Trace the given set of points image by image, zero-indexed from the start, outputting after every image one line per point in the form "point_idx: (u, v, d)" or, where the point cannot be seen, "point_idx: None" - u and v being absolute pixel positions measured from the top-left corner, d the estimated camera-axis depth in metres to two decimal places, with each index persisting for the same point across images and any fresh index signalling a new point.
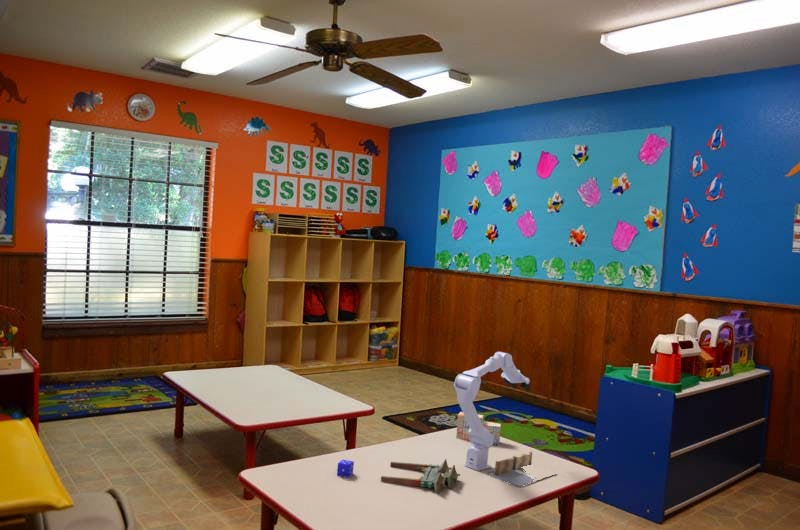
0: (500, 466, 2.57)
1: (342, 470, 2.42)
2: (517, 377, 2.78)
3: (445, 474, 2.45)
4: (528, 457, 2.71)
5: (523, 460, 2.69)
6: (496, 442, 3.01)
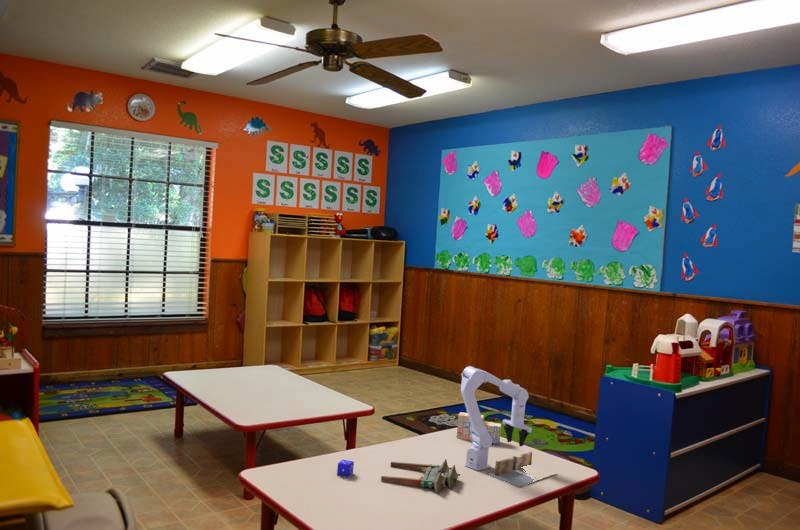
0: (500, 466, 2.57)
1: (342, 470, 2.42)
2: (521, 422, 2.71)
3: (445, 474, 2.45)
4: (528, 457, 2.71)
5: (523, 460, 2.69)
6: (497, 442, 3.01)
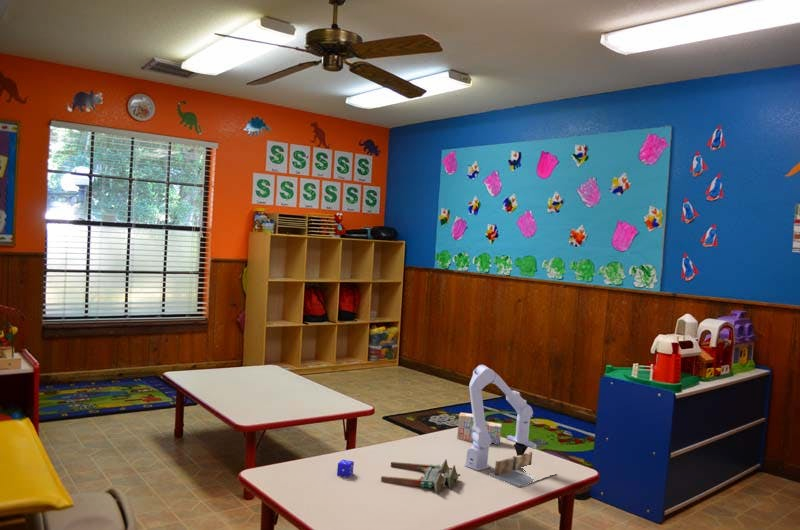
0: (500, 466, 2.57)
1: (342, 470, 2.42)
2: (526, 438, 2.68)
3: (445, 474, 2.45)
4: (528, 457, 2.71)
5: (523, 460, 2.69)
6: (497, 442, 3.01)
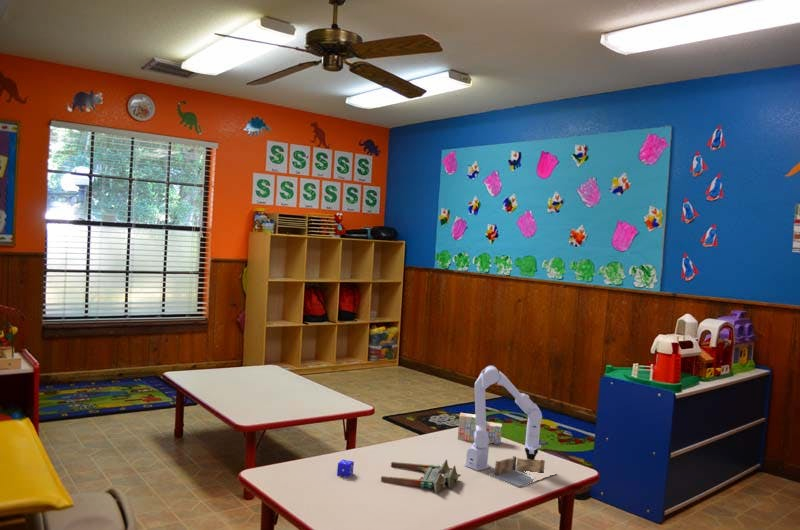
0: (500, 466, 2.57)
1: (342, 470, 2.42)
2: (530, 442, 2.63)
3: (445, 474, 2.45)
4: (537, 464, 2.63)
5: (529, 465, 2.64)
6: (498, 442, 3.01)
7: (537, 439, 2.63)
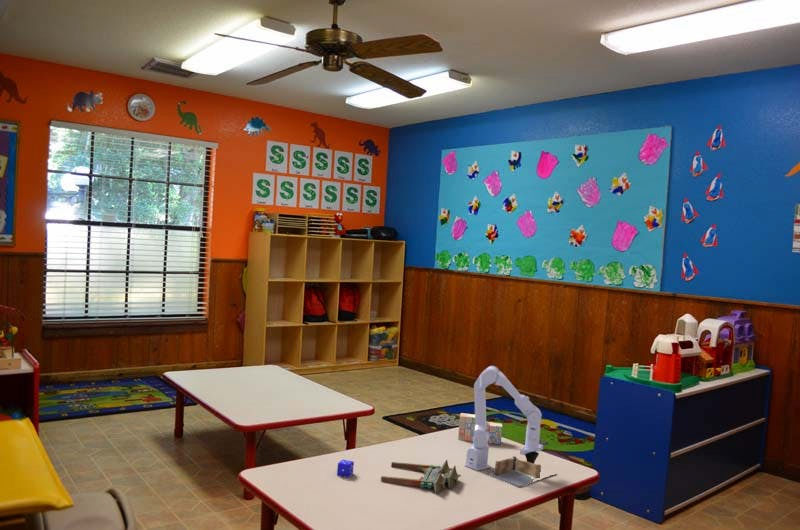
0: (500, 466, 2.57)
1: (342, 470, 2.42)
2: (527, 444, 2.60)
3: (445, 475, 2.45)
4: (534, 468, 2.58)
5: (526, 467, 2.60)
6: (499, 442, 3.01)
7: (534, 442, 2.58)
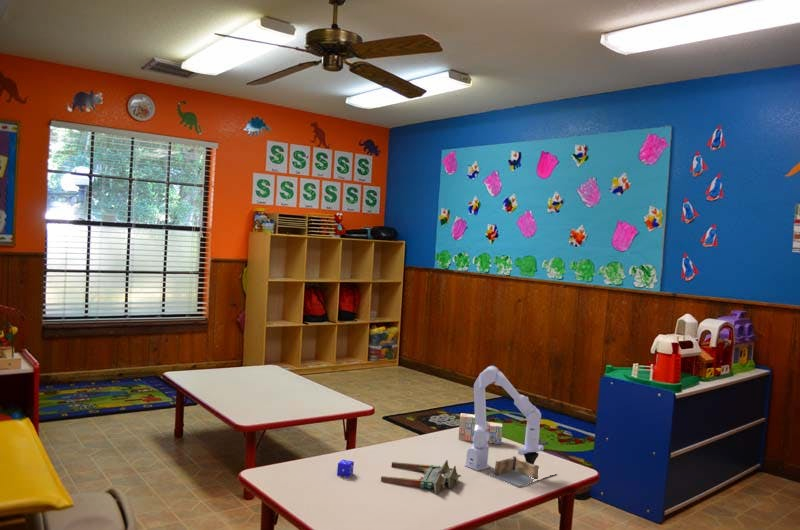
0: (500, 466, 2.57)
1: (342, 470, 2.42)
2: (526, 444, 2.59)
3: (445, 475, 2.45)
4: (531, 468, 2.57)
5: (524, 468, 2.60)
6: (499, 442, 3.01)
7: (533, 442, 2.58)
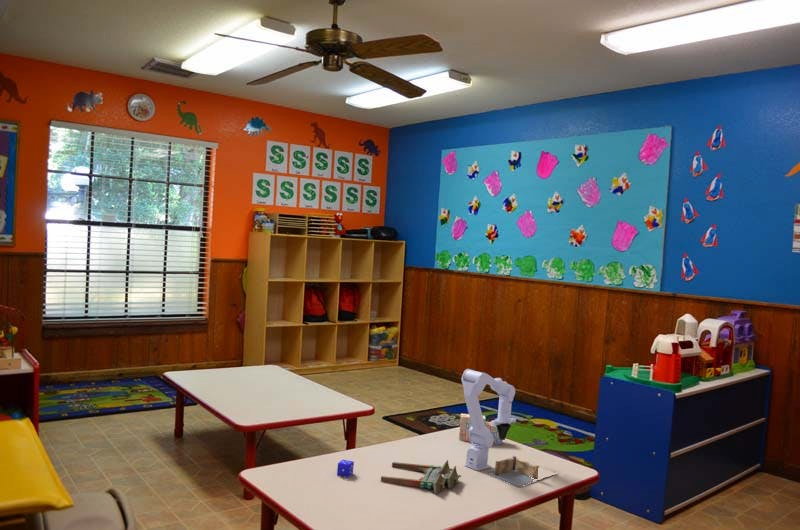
0: (500, 466, 2.57)
1: (342, 470, 2.42)
2: (498, 416, 2.77)
3: (446, 475, 2.44)
4: (531, 468, 2.57)
5: (524, 468, 2.60)
6: (500, 442, 3.01)
7: (505, 414, 2.75)
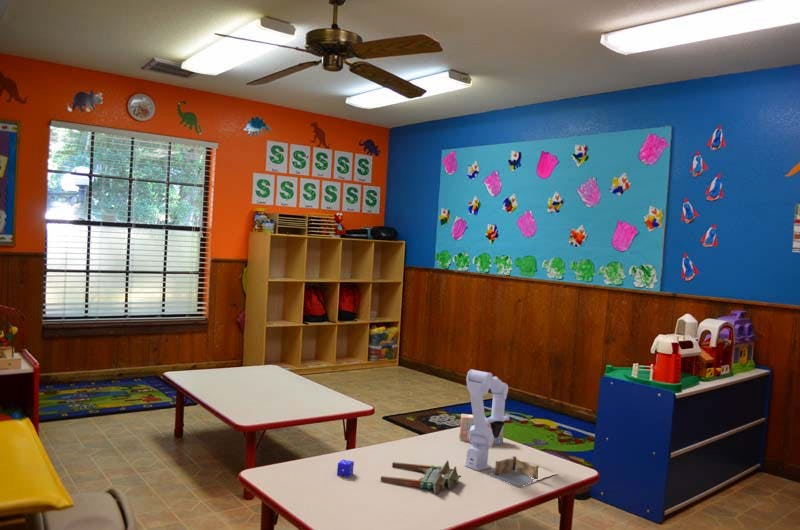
0: (500, 466, 2.57)
1: (342, 470, 2.42)
2: (492, 414, 2.80)
3: (446, 475, 2.44)
4: (531, 468, 2.57)
5: (524, 468, 2.60)
6: (500, 442, 3.01)
7: (498, 412, 2.78)
